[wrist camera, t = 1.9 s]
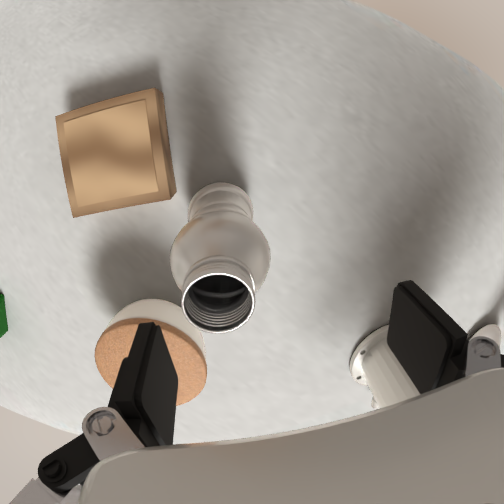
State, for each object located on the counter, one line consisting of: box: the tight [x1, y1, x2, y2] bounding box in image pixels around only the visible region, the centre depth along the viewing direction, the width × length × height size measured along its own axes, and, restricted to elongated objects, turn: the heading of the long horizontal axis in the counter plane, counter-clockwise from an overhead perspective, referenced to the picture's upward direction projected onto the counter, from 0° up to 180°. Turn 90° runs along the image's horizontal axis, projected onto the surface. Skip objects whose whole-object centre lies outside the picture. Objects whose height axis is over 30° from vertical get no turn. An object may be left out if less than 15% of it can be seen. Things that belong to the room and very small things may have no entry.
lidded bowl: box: [95, 299, 207, 406], centre depth 33 cm, size 13×13×11 cm
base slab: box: [55, 88, 177, 218], centre depth 28 cm, size 11×11×4 cm
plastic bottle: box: [170, 182, 271, 333], centre depth 24 cm, size 6×7×20 cm
